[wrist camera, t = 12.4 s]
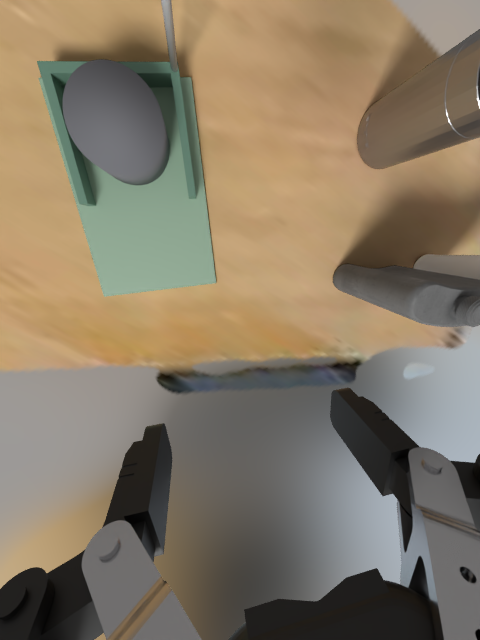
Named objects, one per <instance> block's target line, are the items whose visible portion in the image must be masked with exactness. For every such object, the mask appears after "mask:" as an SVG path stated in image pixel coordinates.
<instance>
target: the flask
mask: <svg viewBox="0 0 480 640" xmlns="http://www.w3.org/2000/svg"><path fill="white" fill-rule="evenodd" d="M333 283H334V286H335V287H336V288H337V289H338V290H340V291H342V292H345V293H347V294H350V295H352V296H355V297H357V298H360V299H362V300H365V301H367V302H369V303H372V304H374V305H377V306H379V307H382V308H384V309H387V310H389V311H392V312H394V313H397V314H399V315H402V316H404V317H407V318H409V319H411V320H414V321H416V322H419V323H422V324H426V325H432V326H441V327H457V326H466V325H468V326H471V327H475V326H478V325H480V280H478V279H472V278H466V277H461V276H455V275H449V274H443V273H437V272H431V271H425V270H419V269H413V268H407V267H401V266H396V265H394V266H389V267H384V268H366V267H361V266H356V265H352V264H343V265H341V266H340V267H338V268H337V270H336V271H335V273H334V276H333Z"/></svg>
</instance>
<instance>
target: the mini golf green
mask: <svg viewBox="0 0 480 640" xmlns="http://www.w3.org/2000/svg"><path fill="white" fill-rule="evenodd" d="M161 2H162V9H163V16H164V23H165V30H166V37H167V44H168V52H169V59H170V62H118V63H120V64H123V65H125V66H126V67H128V68H130V69H131V70H133V71H134V72H136V73H137V74H138V75H139V76H140V77H141V78H142V79H143V80H144V81H145V82H146V83H147V85H148V86H149V87H150V89H151V90H152V92H153V94H154V95H155V97H156V99H157V101H158V104H159V106H160V109H161V112H162V116H163V120H164V123H165V127H166V131H167V134H168V138H169V144H170V155H169V160H168V164H167V166H166V168H165V170H164V172H163V173H162V175H161V176H160V177H159V178H158V179H156V180H155V181H153V182H151V183H149V184H146V185H130V184H126V183H124V182H121V181H119V180H117V179H116V178H114V177H113V176H111V175H110V174H108V173H107V172H105V171H104V170H102V169H101V168H99V167H98V166H97V165H95V164H94V163H92V162H91V161H90V160H89V159H88V158H86V157H85V156H84V155H83V153H82V152H81V151H80V150H79V149H78V147H77V146H76V145H75V143H74V141H73V140H72V138H71V136H70V134H69V132H68V129H67V126H66V124H65V119H64V115H63V93H64V89H65V85H66V83H67V81H68V79H69V77H70V76H71V74H72V73H73V72H74V71H75V70H76V69H77V68H78V67H80V66H81V65H82V64H84V63H87V62H84V61H37V63H38V66H39V70H40V73H41V76H42V78H39V81H40V85H41V88H42V91H43V95H44V98H45V101H46V105H47V108H48V111H49V115H50V118H51V121H52V124H53V128H54V131H55V134H56V138H57V141H58V144H59V148H60V151H61V154H62V158H63V161H64V164H65V168H66V171H67V174H68V178H69V181H70V184H71V188H72V191H73V194H74V198H75V201H76V204H77V208H78V211H79V214H80V218H81V221H82V224H83V228H84V231H85V234H86V238H87V241H88V244H89V248H90V251H91V254H92V258H93V261H94V264H95V268H96V271H97V274H98V278H99V281H100V284H101V288H102V291H103V294H104V297H105V296H113V295H121V294H130V293H138V292H146V291H154V290H163V289H171V288H179V287H187V286H196V285H204V284H212V283H216V278H215V270H214V261H213V253H212V245H211V237H210V228H209V220H208V212H207V204H206V196H205V187H204V179H203V171H202V163H201V155H200V146H199V138H198V130H197V122H196V114H195V105H194V97H193V89H192V81H191V77H180V74H179V67H178V62H177V55H176V45H175V35H174V25H173V15H172V5H171V0H161Z"/></svg>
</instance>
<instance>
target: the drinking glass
mask: <svg viewBox="0 0 480 640" xmlns="http://www.w3.org/2000/svg"><path fill="white" fill-rule="evenodd" d="M413 269H419V270H425V271H431V272H437V273H443V274H449V275H455V276H461V277H466V278H472V279H478V280H480V255H436V254H426V255H423V256H422V257H420V258H419V259H418V260H417V261H416V262H415V264H414V266H413Z"/></svg>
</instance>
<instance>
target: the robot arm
mask: <svg viewBox="0 0 480 640" xmlns="http://www.w3.org/2000/svg"><path fill="white" fill-rule="evenodd" d="M479 137H480V29H479V30H478V31H476V32H475V33H473V34H472V35H470V36H469V37H468V38H466V39H465V40H463V41H462V42H461V43H459V44H458V45H456V46H455V47H453V48H452V49H451V50H449V51H448V52H446V53H445V54H444V55H442V56H441V57H439V58H438V59H437V60H435V61H434V62H432V63H431V64H429V65H428V66H427V67H425V68H424V69H422V70H421V71H420V72H418V73H417V74H415V75H414V76H412V77H411V78H410V79H408V80H407V81H405V82H404V83H403V84H401V85H400V86H398V87H397V88H395V89H394V90H392V91H391V92H390V93H388V94H387V95H385V96H384V97H383V98H381V99H380V100H378V101H377V102H376V103H374V104H373V105H372V106H371V107H370V108H369V109H368V110H367V112H366V113H365V114H364V116H363V118H362V120H361V123H360V126H359V130H358V136H357V144H358V150H359V153H360V156H361V158H362V159H363V161H364V162H365V163H366V164H367V165H368V166H370V167H372V168H375V169H384V168H387V167H390V166H393V165H396V164H399V163H403V162H406V161H409V160H412V159H415V158H418V157H421V156H424V155H427V154H430V153H433V152H436V151H439V150H442V149H445V148H449V147H452V146H455V145H458V144H461V143H464V142H467V141H470V140H473V139H476V138H479ZM330 418H331V422H332V425H333V427H334V428H335V430H336V431H337V433H338V434H339V436H340V437H341V438H342V439H343V441H344V443H345V444H346V445H347V447H348V448H349V449H350V451H351V452H352V454H353V455H354V457H355V458H356V459H357V461H358V462H359V464H360V465H361V466H362V468H363V469H364V471H365V472H366V473H367V475H368V476H369V478H370V479H371V480H372V482H373V483H374V484H375V486H376V487H377V489H378V490H379V492H380V493H381V494H382V496H385V495H389V494H394V495H395V497H396V498H397V499H398V501H397V513H398V524H399V536H400V548H401V576H400V578H401V579H400V584H397V583H394V582H390V581H385V580H383V578H382V576H381V575H380V573H379V571H378V569H377V568H376V569H373V570H369V571H366V572H363V573H360V574H357V575H353V576H350V577H347V578H345V579H344V580H343V581H342V582H341V583H340V584H339V585H337V586H336V587H335V588H334V589H332V590H331V591H330V592H329V593H328V594H327V595H326V596H324V597H323V598H322V599H321V600H319V601H315V602H313V601H299V600H286V599H277V600H274V601H271V602H268V603H264V604H261V605H258V606H255V607H252V608H249V609H245V610H244V611H245V619H246V623H244V624H243V625H242V626H241V627H239V628H238V630H236V631H235V633H234V634H233V635H232V636H231V637H230V638H229V640H480V454H479V455H478V457H477V459H476V462H475V463H469V462H458V461H449V460H448V459H447V458H446V457H444V456H443V455H441V454H440V453H438V452H436V451H434V450H431V449H428V448H421V447H419V446H418V445H417V444H416V443H415V442H414V441H413V440H412V439H411V438H410V437H409V436H408V435H407V434H406V433H404V431H403V430H401V429H400V428H399V427H398V426H397V425H396V424H395V423H394V422H393V421H392V420H390V419H389V417H388V416H387V415H386V414H385V413H383V412H382V410H381V409H379V408H378V407H377V406H376V405H375V404H374V403H373V402H371V401H369V400H368V399H366V398H364V397H358V396H357V395H356V394H355V393H354V392H353V391H352V390H351V389H350V388H344V389H339V390H334V391H333V392H332V396H331V411H330ZM171 469H172V452H171V446H170V442H169V438H168V434H167V430H166V426H165V424H164V423H163V424H158V425H153V426H147V427H146V429H145V432H144V437H143V440H142V441H137V442H134V443H133V444H132V446H131V447H130V449H129V450H128V451H127V453H126V454H125V458H124V461H123V465H122V469H121V471H120V474H119V479H118V481H117V484H116V487H115V491H114V494H113V497H112V500H111V503H110V507H109V510H108V513H107V516H106V520H105V523H104V525H103V527H102V529H100V530H99V531H98V532H97V533H96V534H95V535H94V537H93V538H92V539H91V541H90V542H89V544H88V546H87V547H86V549H85V550H84V551H83V552H81V553H80V554H79V555H77V556H76V557H74V558H72V559H71V560H69V561H67V562H66V563H64V564H62V565H61V566H59V567H57V568H55V569H54V570H52V571H50V572H49V573H46V572H45V571H44V570H43V569H42V568H37V567H36V568H30V569H27V570H25V571H23V572H21V573H19V574H18V575H16V576H15V577H13V578H12V579H11V580H9V581H8V582H7V583H6V584H5V585H4V586H3V587H2V588H1V589H0V640H94V639H96V638H97V637H98V636H100V635H101V634H102V633H104V634H105V636H106V640H201V638H200V636H199V635H198V633H197V631H196V630H195V628H194V626H193V625H192V623H191V621H190V620H189V618H188V617H187V615H186V613H185V611H184V609H183V608H182V606H181V604H180V603H179V601H178V599H177V598H176V596H175V594H174V593H173V591H172V589H171V588H170V586H169V585H168V583H167V582H166V581H164V580H163V578H162V577H161V575H160V573H159V572H158V570H157V568H156V567H155V565H154V563H153V562H154V556H158V555H162V554H164V544H165V533H166V521H167V511H168V501H169V489H170V480H171Z"/></svg>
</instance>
